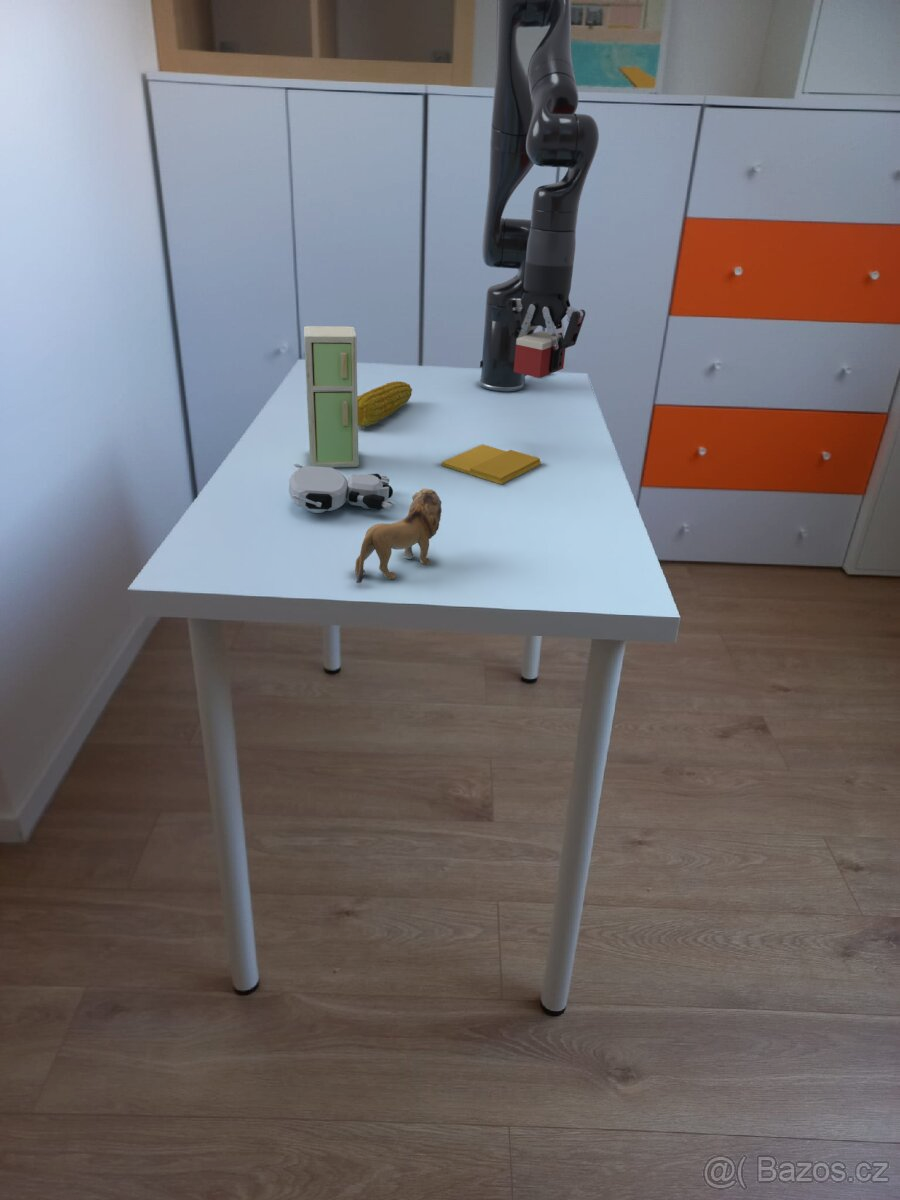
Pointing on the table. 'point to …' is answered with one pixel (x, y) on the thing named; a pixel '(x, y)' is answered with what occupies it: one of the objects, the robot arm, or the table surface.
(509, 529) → the table surface
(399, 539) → the lion figurine
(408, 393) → the food
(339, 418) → the toy refrigerator
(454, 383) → the table surface
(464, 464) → the cloth
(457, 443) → the table surface
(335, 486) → the robot toy
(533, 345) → the toy cooler box
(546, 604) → the table surface
